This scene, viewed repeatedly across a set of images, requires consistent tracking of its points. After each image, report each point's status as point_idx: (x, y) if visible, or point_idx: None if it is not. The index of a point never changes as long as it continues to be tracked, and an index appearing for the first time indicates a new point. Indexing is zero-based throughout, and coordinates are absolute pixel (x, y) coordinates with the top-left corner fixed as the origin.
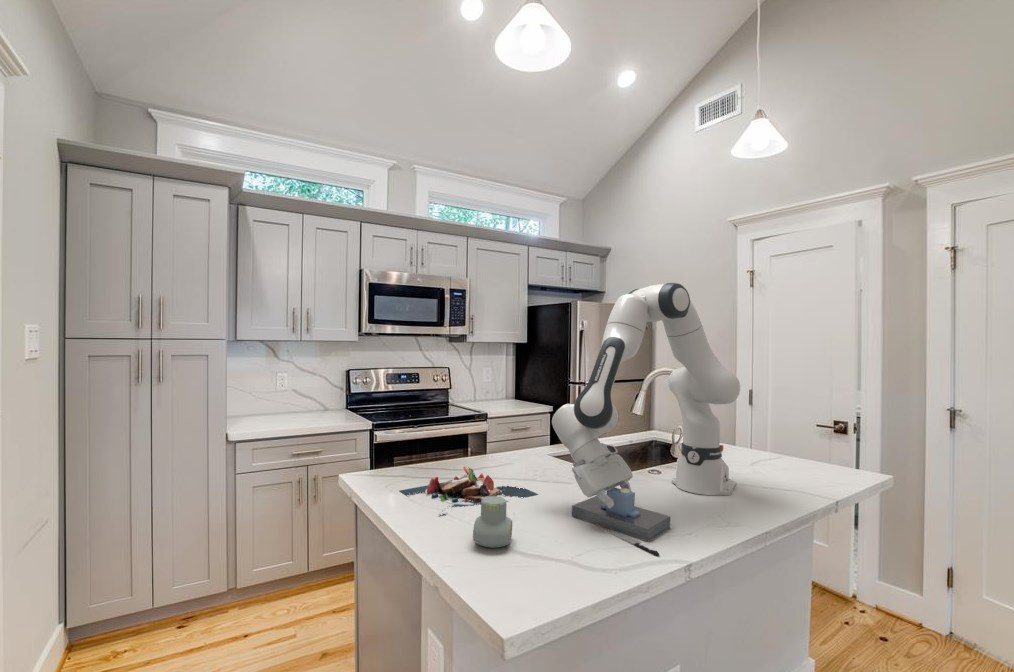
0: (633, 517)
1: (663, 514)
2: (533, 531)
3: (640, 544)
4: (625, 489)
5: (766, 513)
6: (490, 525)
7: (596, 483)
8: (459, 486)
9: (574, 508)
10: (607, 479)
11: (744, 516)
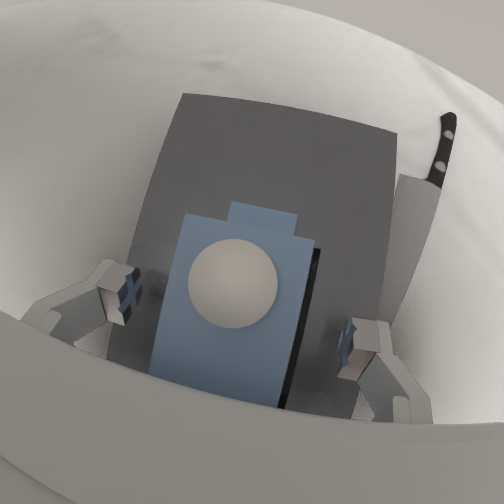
0: (303, 222)
1: (173, 119)
2: None
3: (439, 167)
4: (223, 279)
5: (15, 28)
6: None
7: (482, 469)
8: None
9: None
10: (296, 470)
11: (34, 38)
